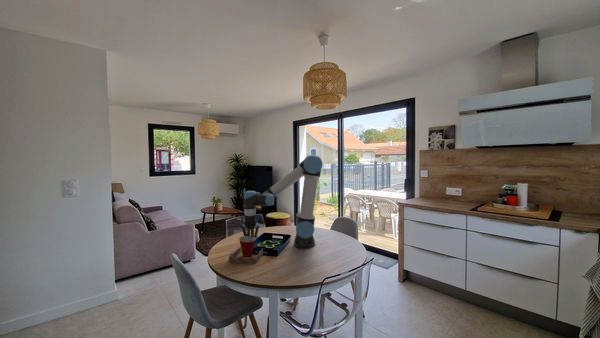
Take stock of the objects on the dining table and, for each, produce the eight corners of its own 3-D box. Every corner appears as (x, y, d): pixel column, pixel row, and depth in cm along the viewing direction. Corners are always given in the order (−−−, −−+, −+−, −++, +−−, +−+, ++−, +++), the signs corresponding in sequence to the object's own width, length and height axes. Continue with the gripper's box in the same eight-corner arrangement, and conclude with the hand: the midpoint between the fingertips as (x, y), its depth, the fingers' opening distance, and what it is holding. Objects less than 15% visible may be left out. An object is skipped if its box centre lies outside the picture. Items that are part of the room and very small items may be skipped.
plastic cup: (258, 258, 154) (257, 239, 153) (240, 260, 150) (240, 241, 149) (254, 251, 164) (254, 234, 163) (238, 254, 160) (237, 236, 160)
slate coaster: (237, 252, 164) (237, 251, 164) (236, 254, 160) (236, 253, 160) (231, 252, 164) (230, 251, 164) (229, 255, 159) (229, 254, 159)
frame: (263, 252, 162) (263, 248, 162) (255, 263, 146) (255, 258, 146) (239, 251, 165) (239, 247, 165) (229, 261, 149) (228, 257, 149)
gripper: (261, 213, 164) (262, 248, 165) (242, 212, 166) (243, 247, 168) (257, 216, 157) (258, 252, 158) (238, 215, 159) (239, 251, 160)
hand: (250, 249), depth 163 cm, fingers closed
